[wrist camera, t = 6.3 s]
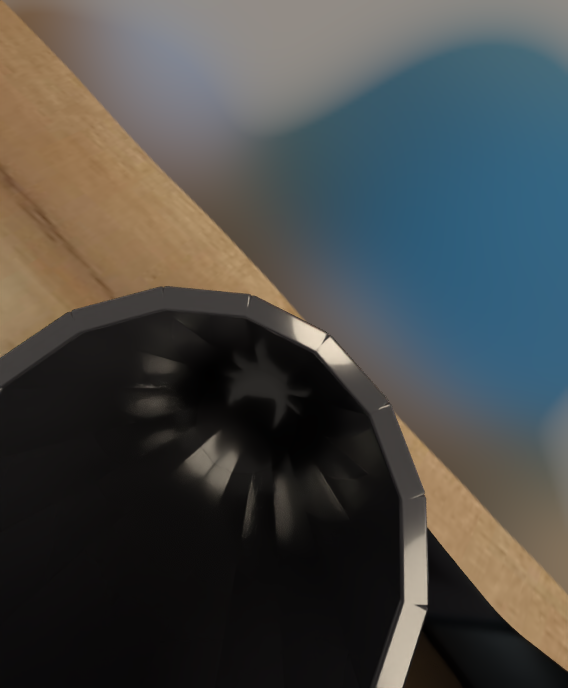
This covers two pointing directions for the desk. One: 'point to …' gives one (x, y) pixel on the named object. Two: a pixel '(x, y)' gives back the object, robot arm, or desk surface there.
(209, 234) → the desk surface
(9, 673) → the cup
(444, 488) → the desk surface
